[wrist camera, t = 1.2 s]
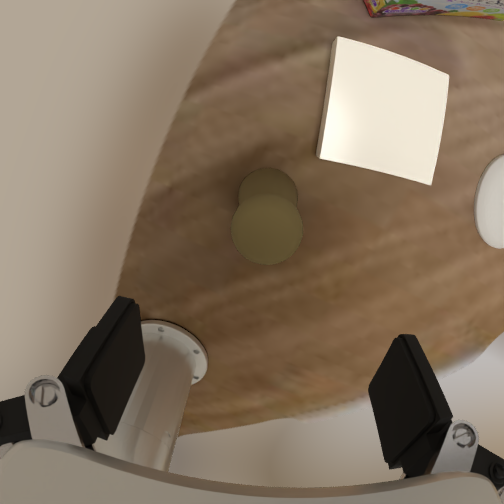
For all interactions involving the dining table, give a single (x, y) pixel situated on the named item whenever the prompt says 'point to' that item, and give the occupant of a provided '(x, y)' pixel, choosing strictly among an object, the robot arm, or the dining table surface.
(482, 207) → the candlestick
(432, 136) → the tile base
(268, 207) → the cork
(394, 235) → the dining table surface
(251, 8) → the dining table surface
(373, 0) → the snack box
